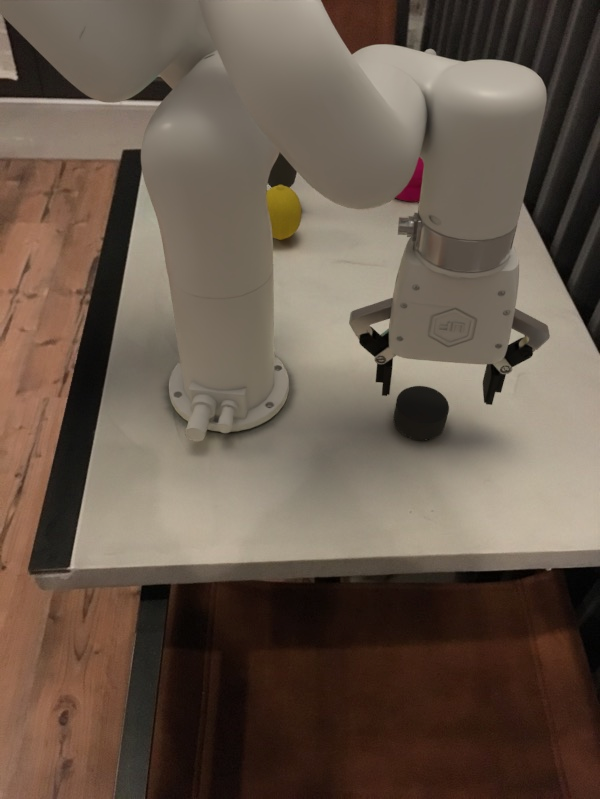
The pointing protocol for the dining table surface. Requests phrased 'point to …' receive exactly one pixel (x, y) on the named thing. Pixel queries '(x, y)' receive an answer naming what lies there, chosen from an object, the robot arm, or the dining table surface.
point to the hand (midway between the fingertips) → (436, 390)
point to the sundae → (282, 173)
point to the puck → (420, 412)
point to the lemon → (283, 211)
